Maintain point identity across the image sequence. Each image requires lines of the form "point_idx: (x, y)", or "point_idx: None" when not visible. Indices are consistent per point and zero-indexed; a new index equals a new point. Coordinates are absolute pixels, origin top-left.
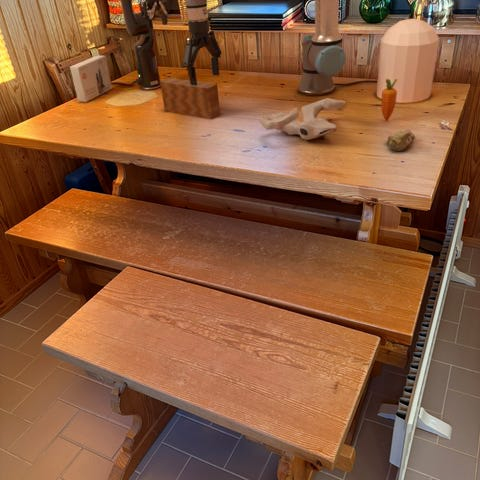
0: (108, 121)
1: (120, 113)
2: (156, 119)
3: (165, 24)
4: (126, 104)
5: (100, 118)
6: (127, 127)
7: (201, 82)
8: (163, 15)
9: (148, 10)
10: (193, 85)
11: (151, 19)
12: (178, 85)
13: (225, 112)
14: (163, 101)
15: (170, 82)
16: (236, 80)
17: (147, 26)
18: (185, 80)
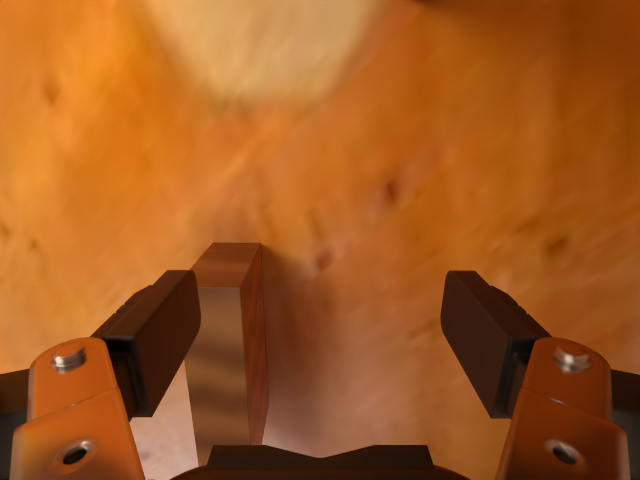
0: (23, 122)
1: (101, 97)
2: (140, 273)
3: (443, 314)
4: (184, 28)
5: (17, 58)
6: (39, 235)
7: (244, 440)
8: (494, 385)
9: (109, 467)
10: (202, 436)
11: (142, 414)
12: (188, 377)
13: (285, 410)
14: (203, 254)
15: None
16: (583, 273)
17: (134, 294)
18: (238, 375)
